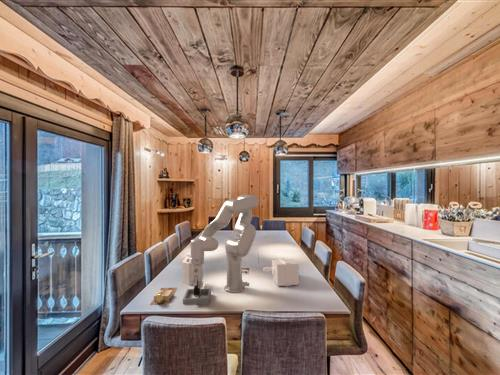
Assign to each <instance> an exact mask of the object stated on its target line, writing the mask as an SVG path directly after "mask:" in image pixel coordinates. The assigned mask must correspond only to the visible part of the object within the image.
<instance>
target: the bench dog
mask: <svg viewBox="0 0 500 375" xmlns="http://www.w3.org/2000/svg"><path fill="white" fill-rule="evenodd" d="M156 293H157V292H156ZM163 303H164V293H157V304H158V305H157V306H161V305H160V304H163Z"/></svg>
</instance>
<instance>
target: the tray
mask: <svg viewBox="0 0 500 375" xmlns="http://www.w3.org/2000/svg"><path fill="white" fill-rule="evenodd" d="M190 294H191V295H192V294H193V295H194V288H188V289H186V291H185V294H184V296H183V297H182V304H183V305H187V304H189V305H191V304H192V305H193V304H196V305H198V306H210V302H211V301H210V300H211V298H210V297H211V296H212V287H209V288H208V287H207V288H201V296H199V297H193V298H189V295H190Z"/></svg>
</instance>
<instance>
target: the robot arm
mask: <svg viewBox="0 0 500 375" xmlns="http://www.w3.org/2000/svg"><path fill="white" fill-rule="evenodd" d="M258 205H259V198H258V197H257V196H255V195H254V194H253V195H252V194H239V195H238V196H237V198H235V199H233V198H230V199H226V200H225V201H224V203H223V204H222V206H221V208H220V209H219V211H218V213H217V214H216V217H215V218H214V219H213V220H212V221H210V223H209V224H208V225H207V226H205V227H204V230H203V231H202V233H201V234H200V236H199V238H193V239H191V240H190V256H191V265H193V271H192V278H193V283H194V284H193V289H194V294H193V296H194V295H200V287H199V282H200V283H201V284H202V282H203V279H204V265H205V252H213V251H216V250H217V249H218V247H219V244H220V243H219V241H218V239H216V238H214V235H215V234H216V233H217V232H218V231H220V230H221V229H224V228H226V227H228V225H229V224H230V221H231V220H232V219H233V216H234V215H238V218H237V220H236V223H235V225H234V228H233V234H234V236H235V237H236V238H235V237H231V238H228V239H227V240H226V242H225V243H224V244H225V246H224V248H225V249H224V250H225V254H226V285H224V286H223V287H224V290H225V291H226V292H228V293H234V294H235V293H240V292H243V291H244V290H245V287H250V282H248V281H243V257H246V256H248V254H249V252H250V251H251V249H252V246H253V244H254V240H255V238H256V235H257V234H256V233H257V231H256V227H255V225H253V224H251V223H252V220H253V211H252V210H254V209H256V208H257V207H258ZM239 238H240V239H239ZM197 283H198V284H197Z"/></svg>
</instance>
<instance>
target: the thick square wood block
mask: <svg viewBox="0 0 500 375" xmlns="http://www.w3.org/2000/svg"><path fill="white" fill-rule="evenodd" d="M157 293H164V301H169V300H170V298H171V297H172V296H173V297H174V295H173V290H160V289H159V290H158V291H156V293H155V294H154V295H153V300H154V301H157ZM173 297H172V298H173Z"/></svg>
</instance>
